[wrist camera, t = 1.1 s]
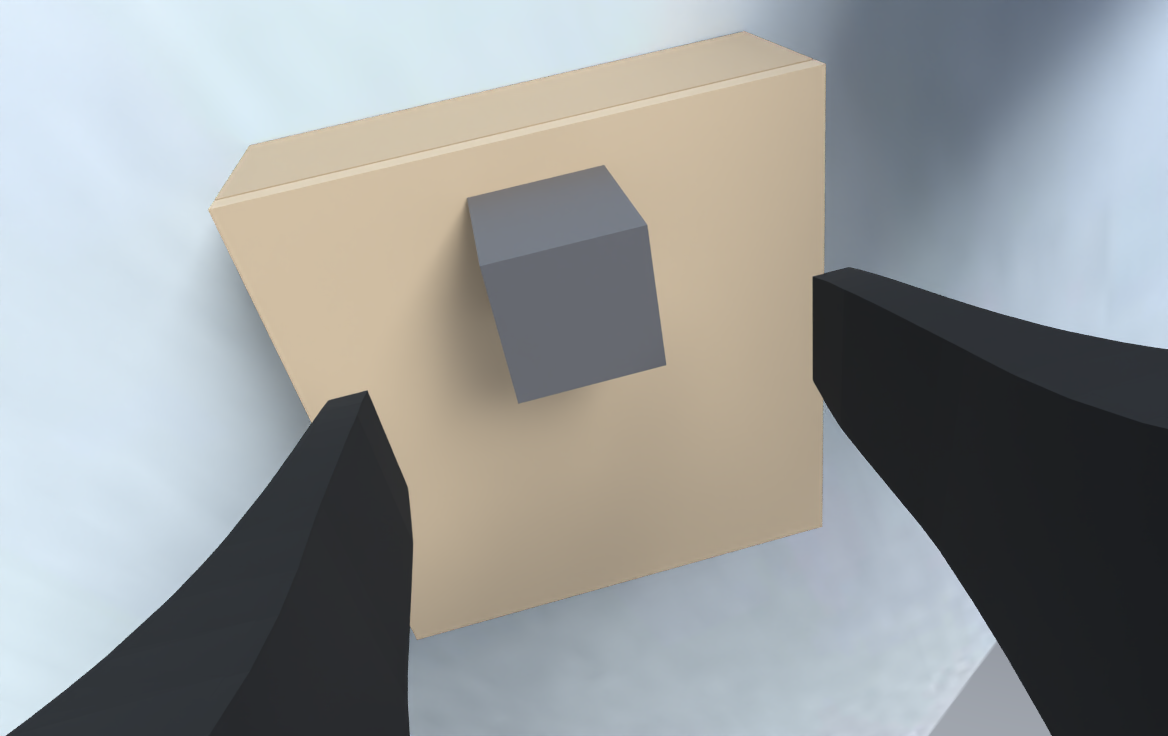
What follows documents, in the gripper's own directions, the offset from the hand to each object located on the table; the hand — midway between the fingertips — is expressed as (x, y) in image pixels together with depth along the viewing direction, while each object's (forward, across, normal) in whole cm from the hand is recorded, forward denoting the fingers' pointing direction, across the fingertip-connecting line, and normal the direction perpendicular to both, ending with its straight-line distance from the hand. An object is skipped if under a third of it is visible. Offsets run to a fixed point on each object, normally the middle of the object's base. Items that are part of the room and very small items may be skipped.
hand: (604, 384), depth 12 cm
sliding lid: (+6, 0, +4) cm, 8 cm away
